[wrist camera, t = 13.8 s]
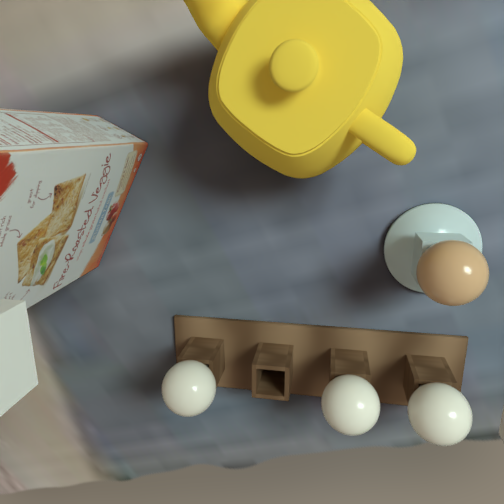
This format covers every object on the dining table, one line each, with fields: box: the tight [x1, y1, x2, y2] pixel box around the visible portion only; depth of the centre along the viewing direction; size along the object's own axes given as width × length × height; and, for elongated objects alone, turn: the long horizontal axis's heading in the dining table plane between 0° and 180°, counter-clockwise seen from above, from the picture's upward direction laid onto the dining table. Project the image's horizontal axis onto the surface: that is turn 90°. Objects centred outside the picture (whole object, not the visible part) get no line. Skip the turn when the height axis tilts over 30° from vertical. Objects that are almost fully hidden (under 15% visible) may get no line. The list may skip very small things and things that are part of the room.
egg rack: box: [174, 315, 468, 406], centre depth 41 cm, size 28×8×5 cm, turn 90°
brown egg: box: [416, 240, 489, 306], centre depth 31 cm, size 5×5×5 cm
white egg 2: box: [321, 374, 380, 436], centre depth 36 cm, size 5×5×5 cm
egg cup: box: [384, 203, 482, 293], centre depth 36 cm, size 8×8×5 cm
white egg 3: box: [408, 382, 472, 446], centre depth 35 cm, size 5×5×5 cm
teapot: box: [184, 0, 416, 178], centre depth 30 cm, size 13×20×12 cm
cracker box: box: [0, 109, 148, 308], centre depth 32 cm, size 14×6×21 cm, turn 152°
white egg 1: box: [162, 360, 216, 417], centre depth 38 cm, size 5×5×5 cm
